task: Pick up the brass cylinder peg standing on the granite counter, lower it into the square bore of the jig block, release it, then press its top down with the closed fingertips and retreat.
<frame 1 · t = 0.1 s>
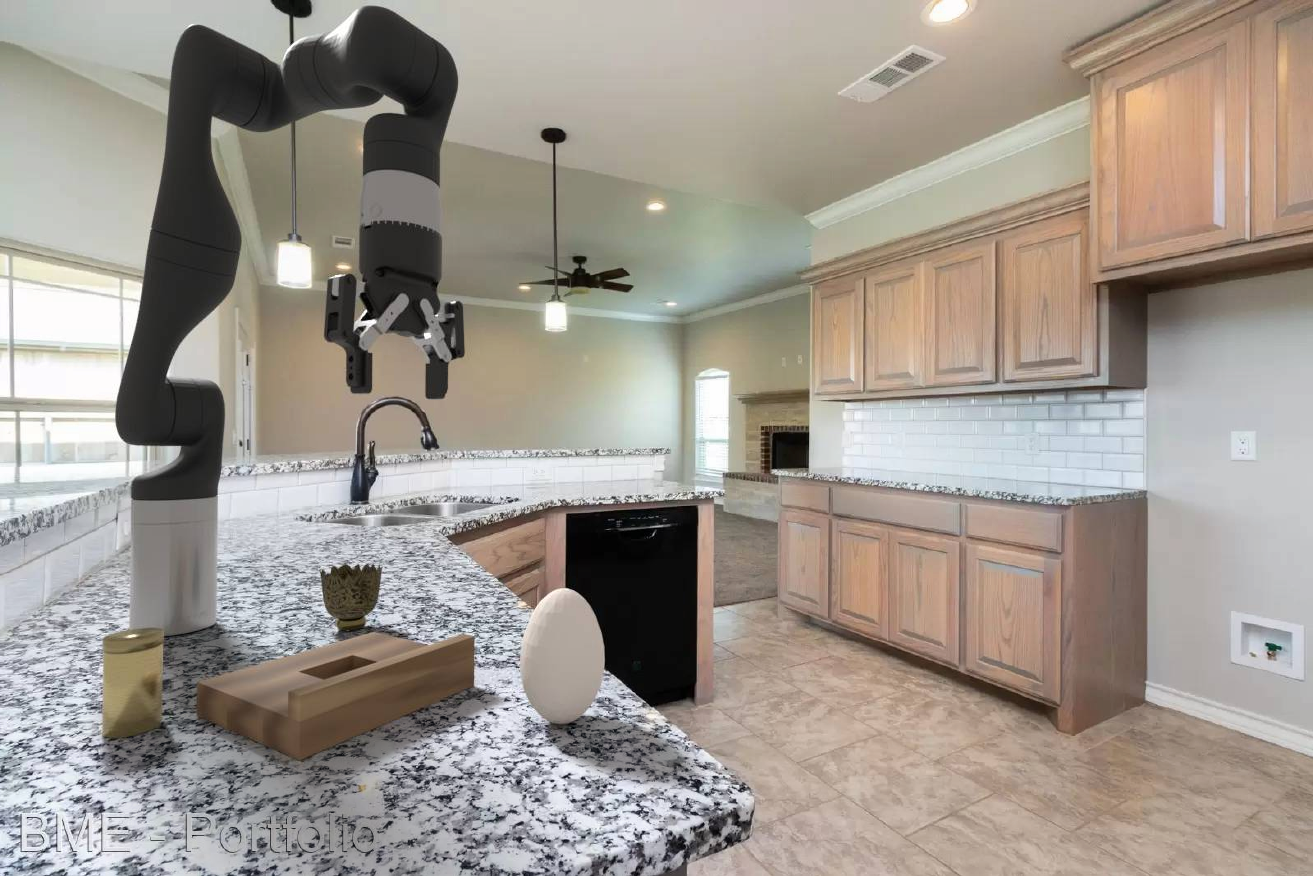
hand: (400, 396, 62), 29 cm above the countertop, fingers open, 8 cm apart
brass cylinder peg: (132, 727, 55), on the countertop
egg: (562, 723, 57), on the countertop
jig: (343, 699, 61), on the countertop
cup: (351, 630, 85), on the countertop
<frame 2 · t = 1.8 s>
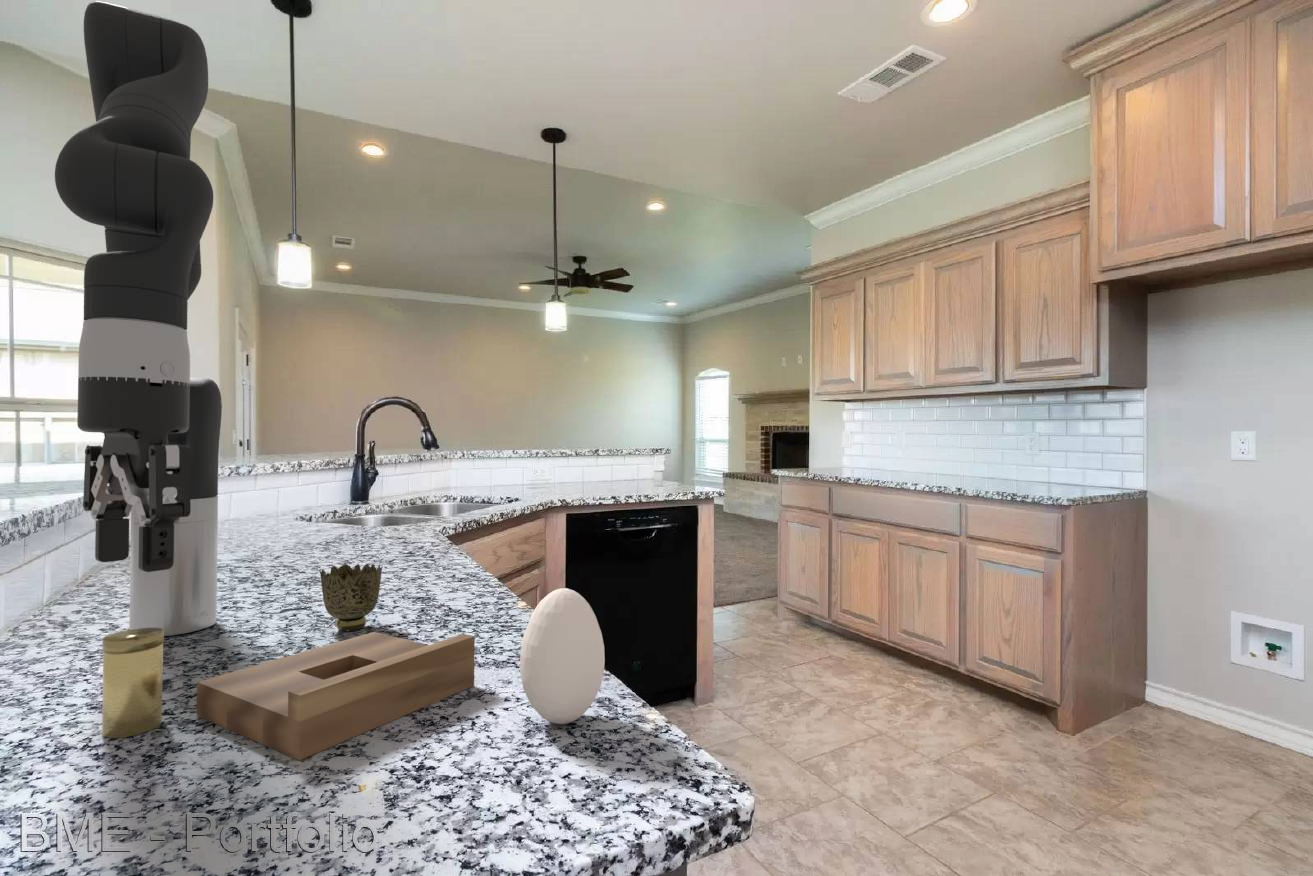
hand: (133, 565, 55), 14 cm above the countertop, fingers open, 8 cm apart
nothing on the countertop moved.
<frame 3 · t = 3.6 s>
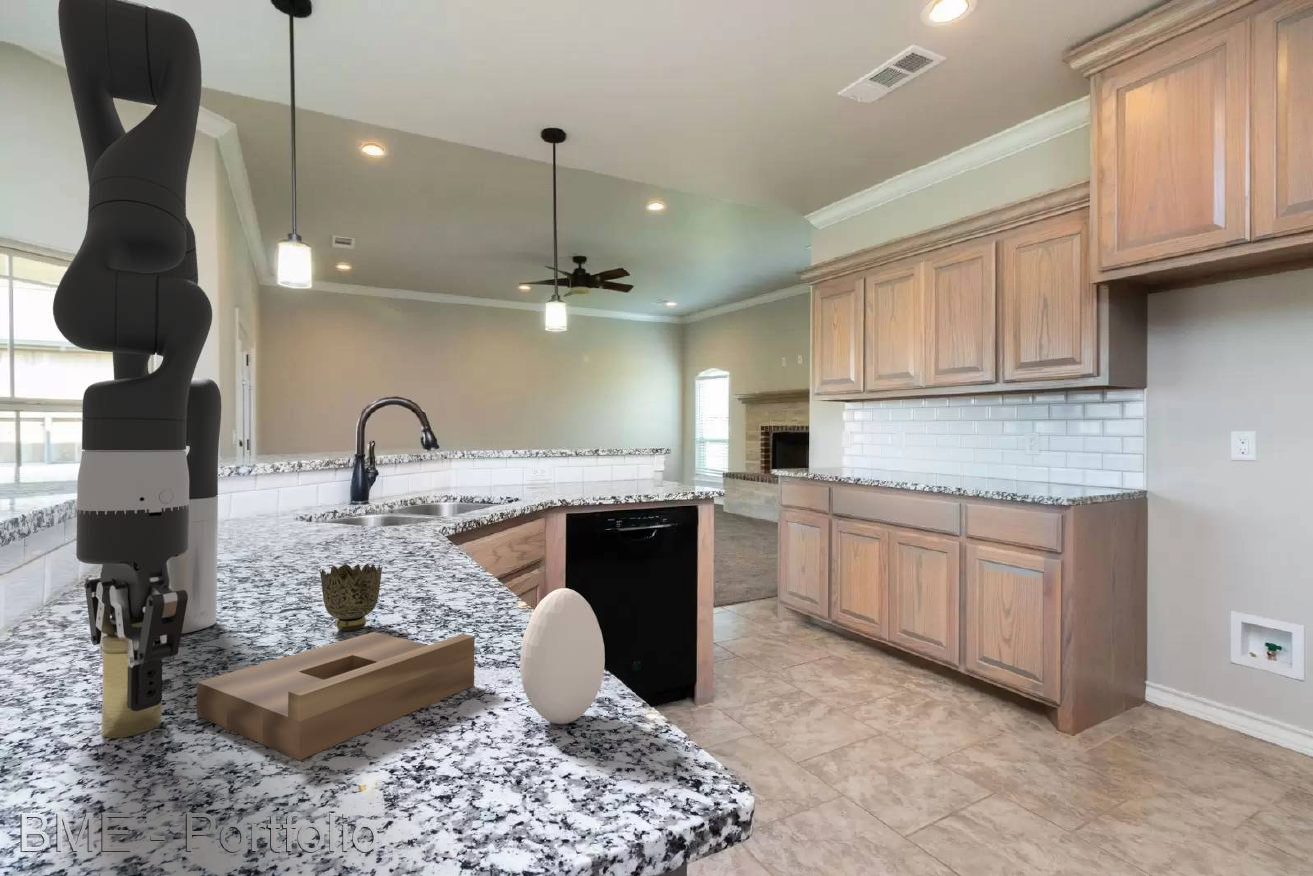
hand: (132, 700, 55), 2 cm above the countertop, fingers closed on brass cylinder peg, 4 cm apart
brass cylinder peg: (132, 727, 55), on the countertop, touching gripper
everything else where it was.
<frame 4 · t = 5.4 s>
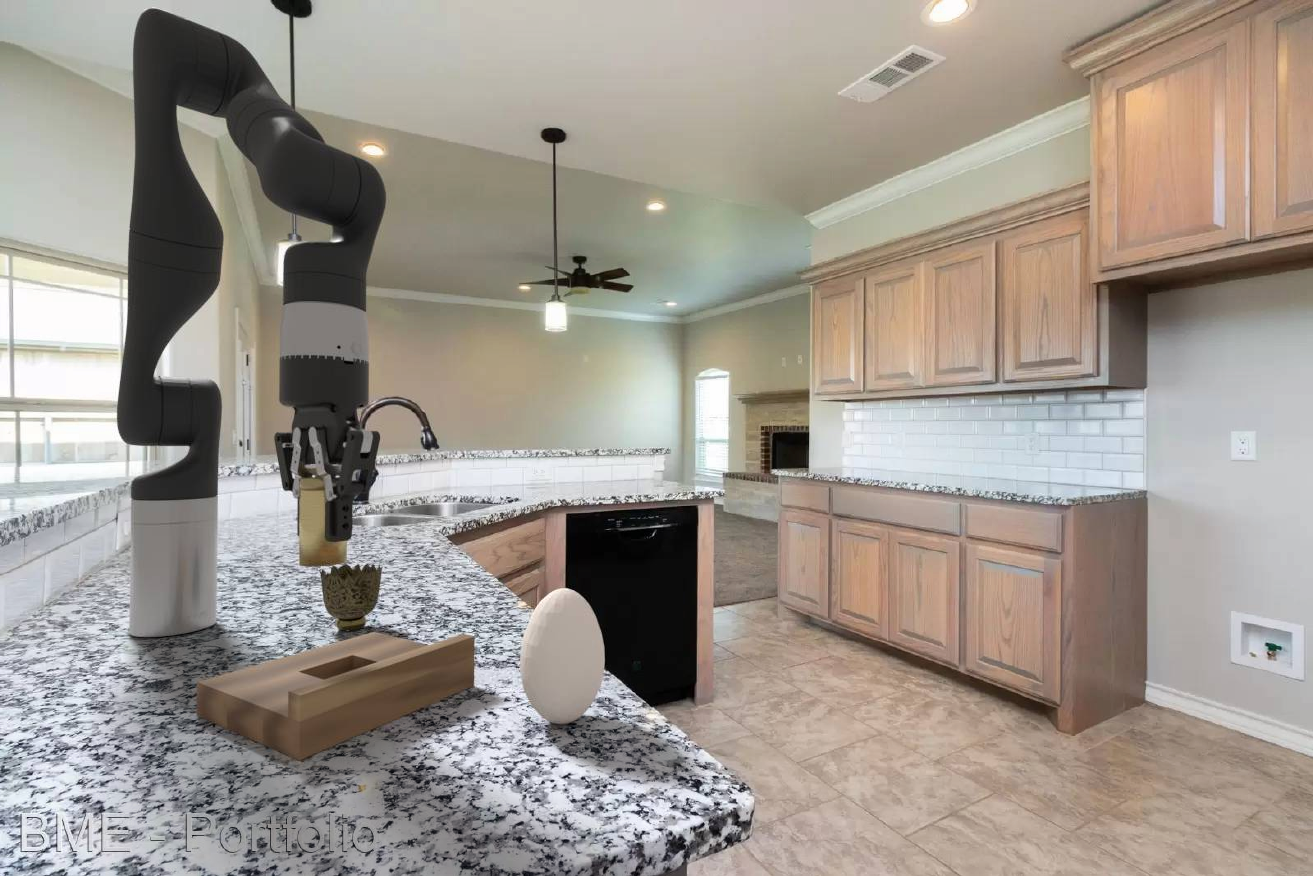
hand: (324, 538, 60), 16 cm above the countertop, fingers closed on brass cylinder peg, 4 cm apart
brass cylinder peg: (323, 562, 60), point 13 cm above the countertop, touching gripper
everything else where it was.
when the fingers open (4 cm above the countertop, at t = 7.6 s): brass cylinder peg drops 1 cm, resting in jig.
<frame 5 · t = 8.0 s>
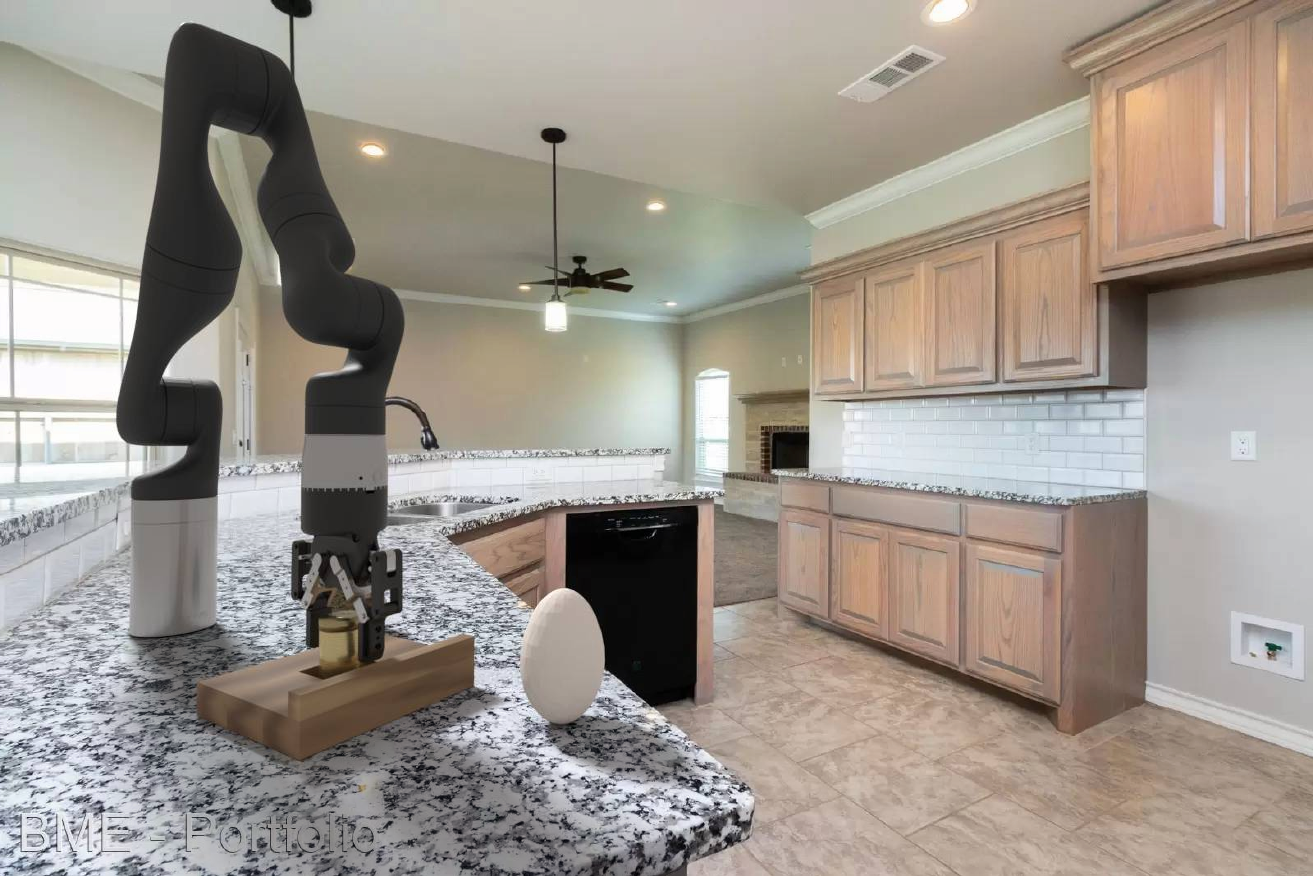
hand: (344, 652, 62), 4 cm above the countertop, fingers open, 7 cm apart
brass cylinder peg: (341, 699, 62), resting in jig
everything else where it was.
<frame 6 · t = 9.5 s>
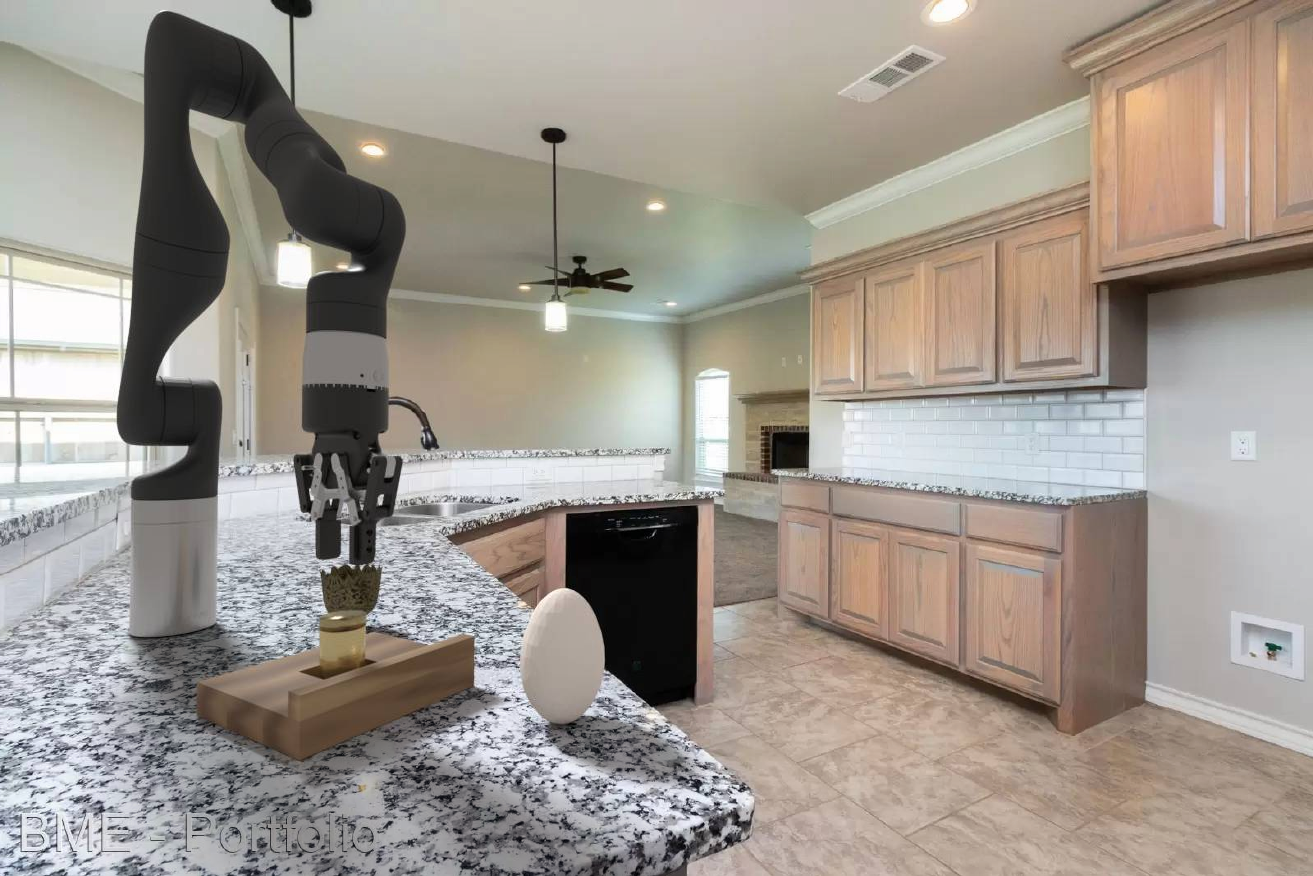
hand: (344, 560, 62), 13 cm above the countertop, fingers open, 4 cm apart
nothing on the countertop moved.
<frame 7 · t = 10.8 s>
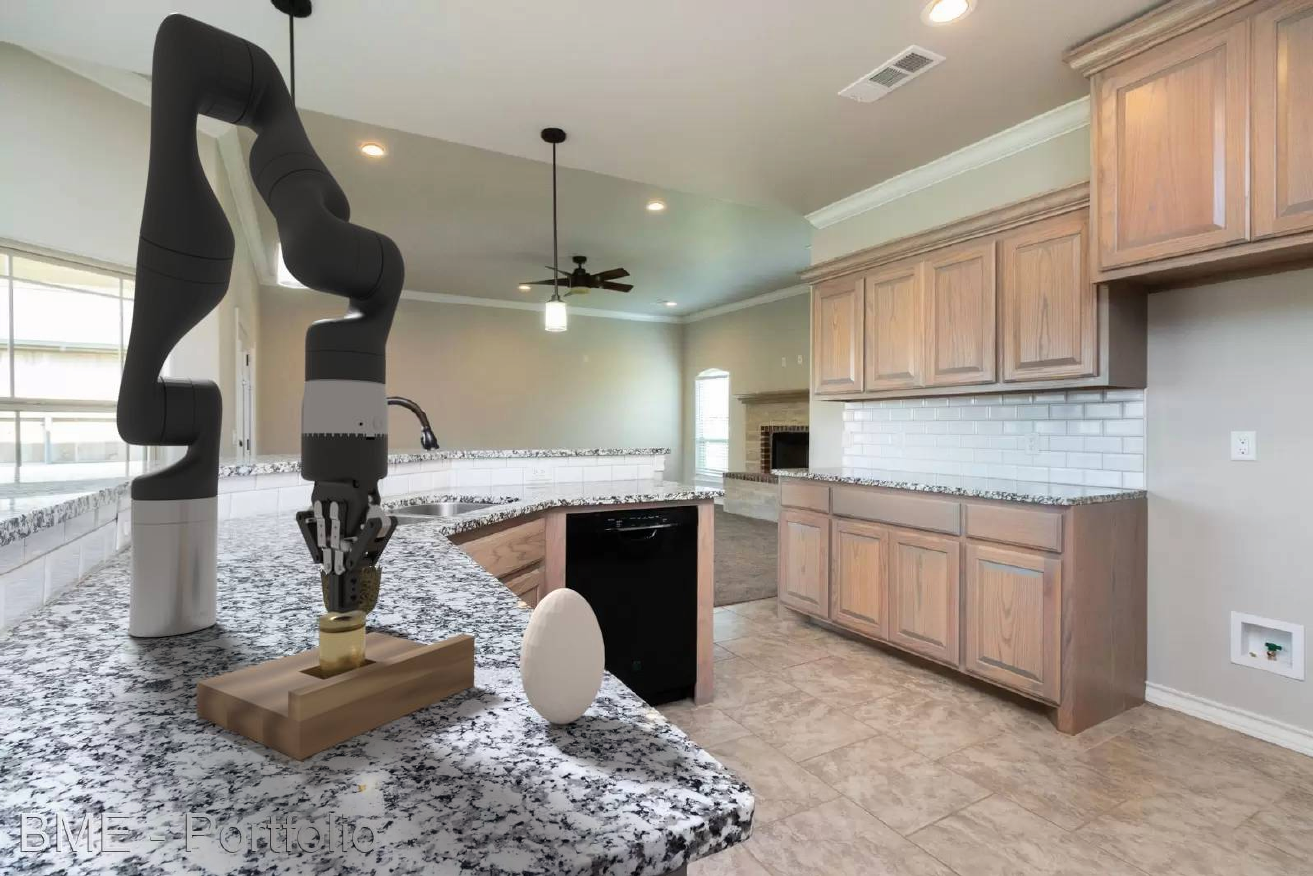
hand: (344, 611, 61), 8 cm above the countertop, fingers closed
nothing on the countertop moved.
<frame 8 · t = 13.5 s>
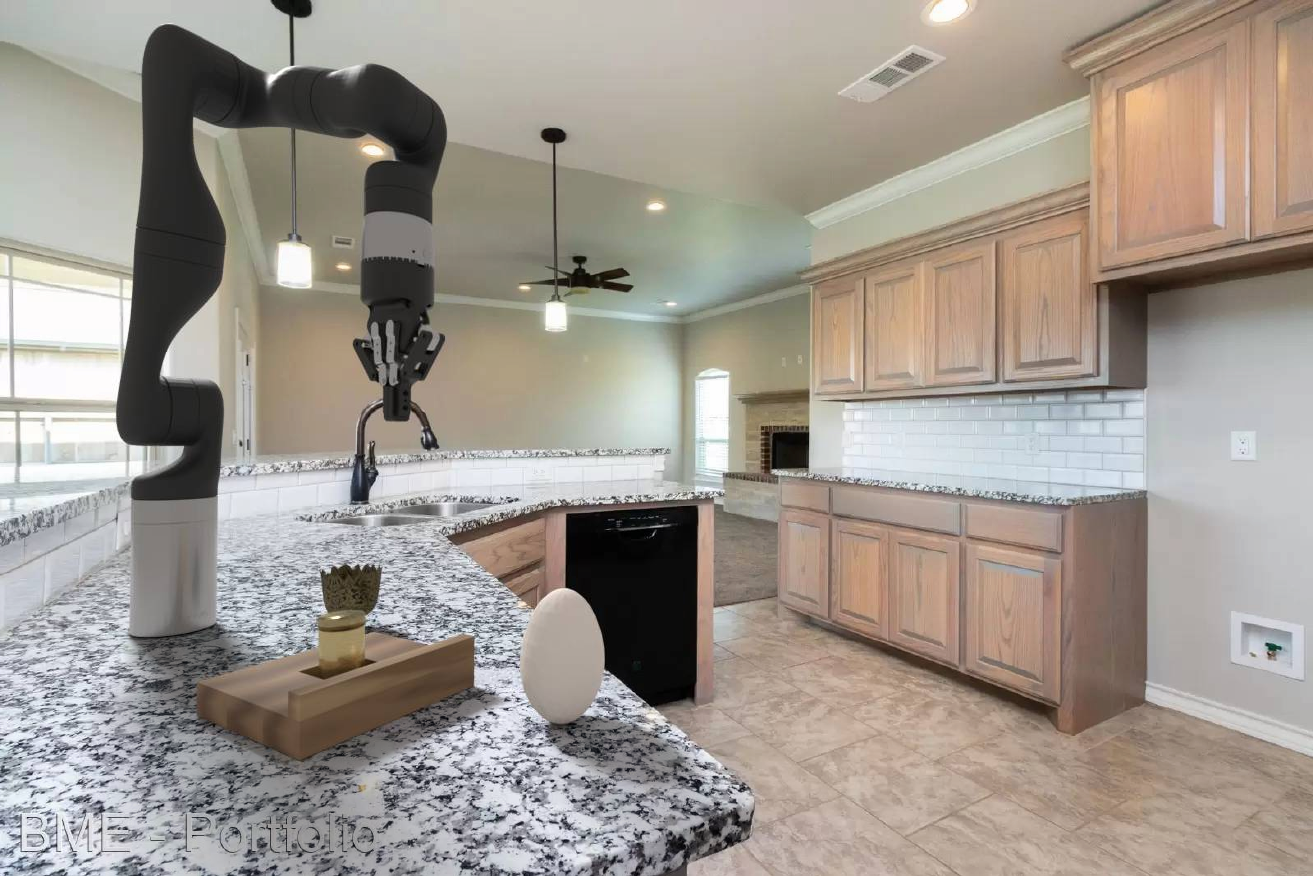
hand: (396, 421, 70), 27 cm above the countertop, fingers closed
nothing on the countertop moved.
at the end: brass cylinder peg 0.2 cm off-centre on the jig, point 0.0 cm above the jig's base; brass cylinder peg tilted 1°; the gripper is holding nothing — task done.
